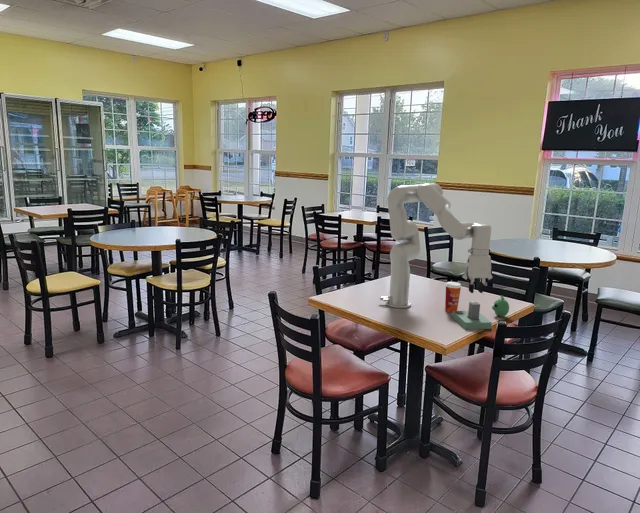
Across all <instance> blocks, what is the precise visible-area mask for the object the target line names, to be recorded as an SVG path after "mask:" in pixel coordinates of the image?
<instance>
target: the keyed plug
mask: <svg viewBox="0 0 640 513" xmlns="http://www.w3.org/2000/svg"><path fill="white" fill-rule="evenodd" d="M467 311H468V318H469V319H470V320H479V313H481V312H480V311H481V304H480V303H479V302H477V301H469V302H468V310H467Z"/></svg>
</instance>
